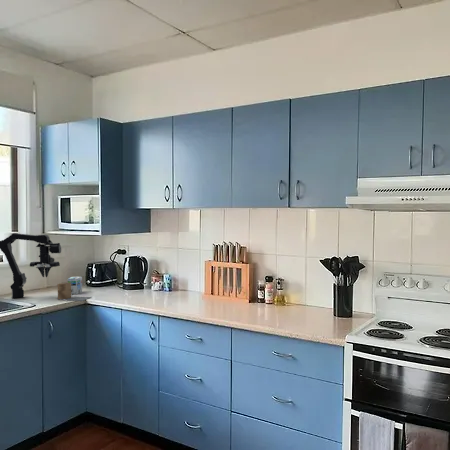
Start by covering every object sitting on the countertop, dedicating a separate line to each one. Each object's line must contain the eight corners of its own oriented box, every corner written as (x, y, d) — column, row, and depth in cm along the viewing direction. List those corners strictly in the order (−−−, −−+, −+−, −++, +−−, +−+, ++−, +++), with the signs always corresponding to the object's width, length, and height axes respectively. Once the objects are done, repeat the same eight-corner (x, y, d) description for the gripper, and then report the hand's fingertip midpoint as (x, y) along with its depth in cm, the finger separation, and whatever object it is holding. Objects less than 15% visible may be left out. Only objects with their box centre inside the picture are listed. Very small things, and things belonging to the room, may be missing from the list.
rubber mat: (64, 300, 287) (64, 300, 287) (74, 297, 299) (74, 296, 299) (82, 301, 285) (82, 300, 285) (91, 297, 296) (91, 296, 296)
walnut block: (57, 299, 291) (57, 284, 291) (63, 297, 297) (62, 282, 297) (66, 299, 290) (66, 284, 290) (71, 298, 296) (71, 282, 296)
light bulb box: (77, 294, 309) (77, 278, 309) (67, 294, 309) (67, 278, 309) (82, 291, 320) (82, 276, 319) (73, 291, 320) (72, 276, 320)
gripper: (63, 252, 307) (64, 275, 307) (38, 252, 310) (39, 275, 311) (54, 254, 296) (55, 278, 296) (28, 254, 299) (29, 277, 300)
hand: (45, 277), depth 301 cm, fingers closed
